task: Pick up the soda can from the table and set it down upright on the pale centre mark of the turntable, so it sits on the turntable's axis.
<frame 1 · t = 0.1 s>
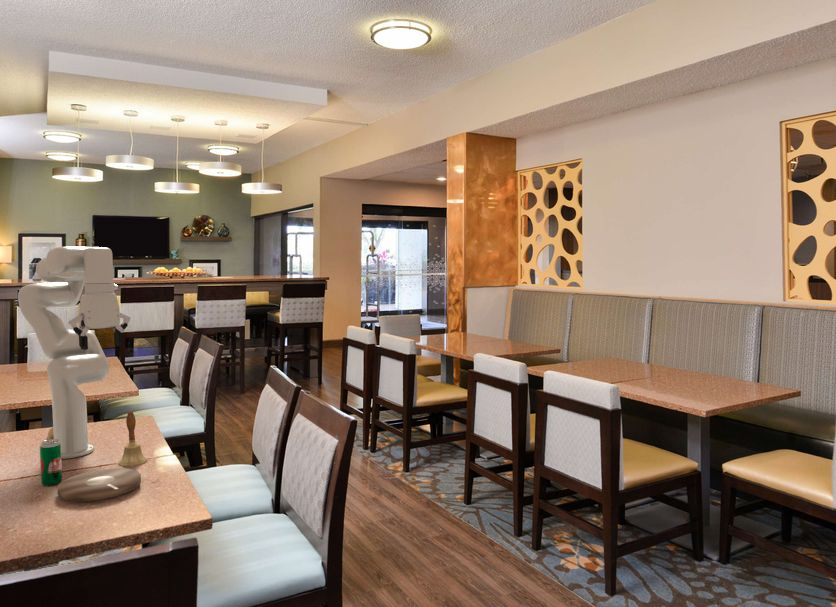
hand: (101, 347, 177), 37 cm above the table, tool pointing down, fingers open, 9 cm apart
stone cup: (67, 439, 210), on the table
soda can: (51, 484, 168), on the table
hand bell: (133, 462, 186), on the table
turntable: (100, 483, 163), point 2 cm above the table, hinge at 0.0°
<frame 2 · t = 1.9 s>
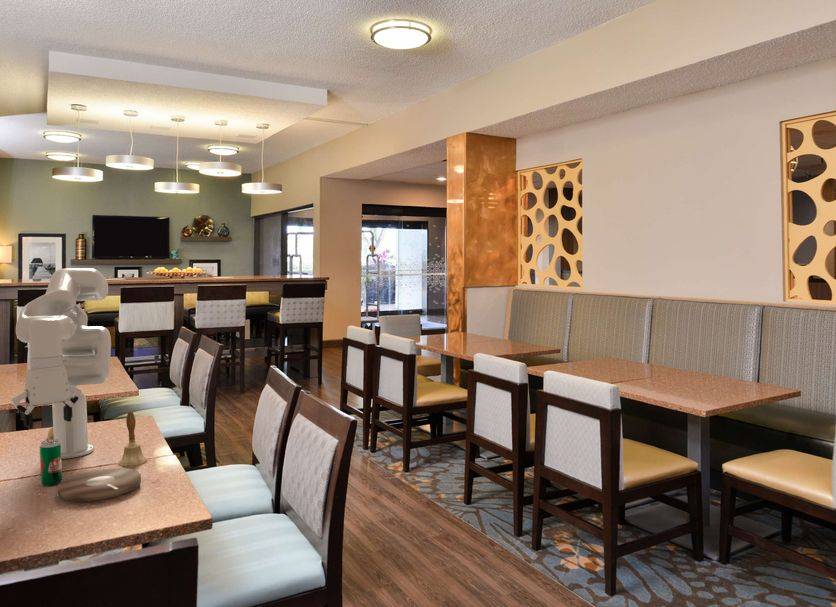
hand: (48, 424, 166), 17 cm above the table, tool pointing down, fingers open, 9 cm apart
nothing on the table moved.
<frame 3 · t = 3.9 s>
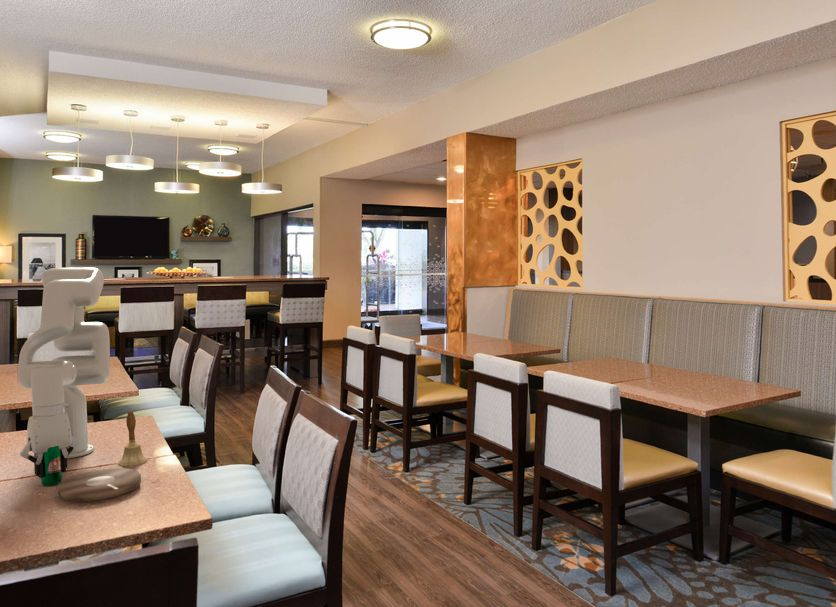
hand: (51, 473, 168), 3 cm above the table, tool pointing down, fingers closed on soda can, 5 cm apart
soda can: (51, 484, 168), on the table, touching gripper
everything else where it was.
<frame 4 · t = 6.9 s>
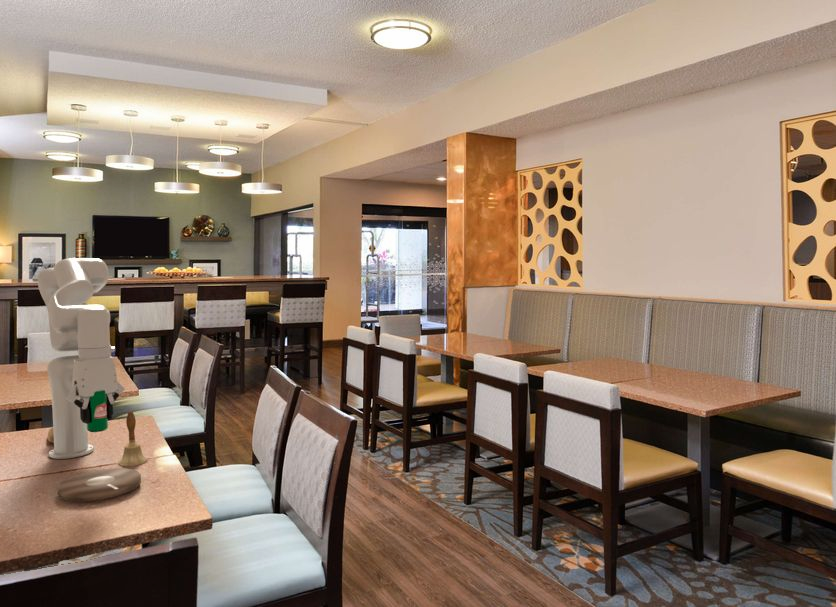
hand: (97, 419, 162), 19 cm above the table, tool pointing down, fingers closed on soda can, 5 cm apart
soda can: (97, 430, 162), point 16 cm above the table, touching gripper
everything else where it was.
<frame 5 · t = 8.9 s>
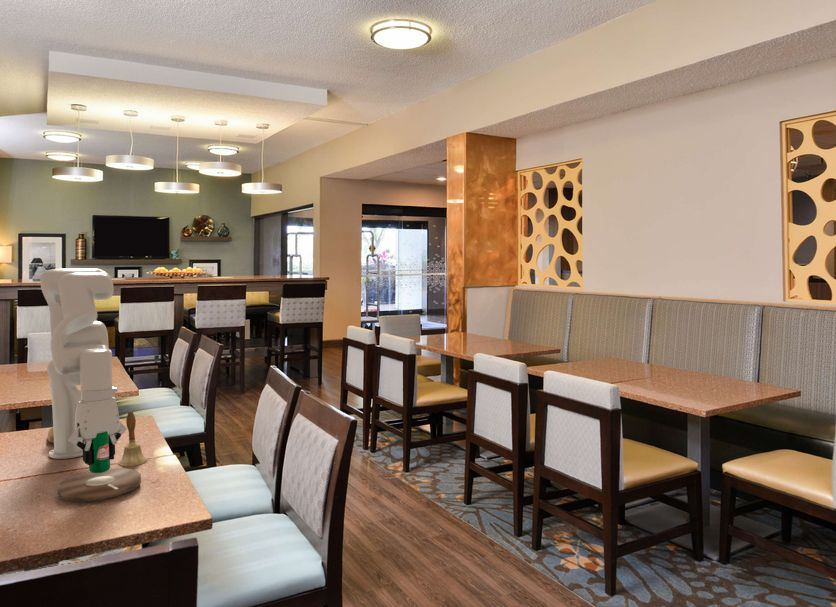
hand: (99, 460, 162), 8 cm above the table, tool pointing down, fingers closed on soda can, 5 cm apart
soda can: (100, 471, 163), point 5 cm above the table, touching gripper
everything else where it was.
when the fingers open (7 cm above the table, at t = 10.1 s): soda can drops 1 cm, resting on turntable.
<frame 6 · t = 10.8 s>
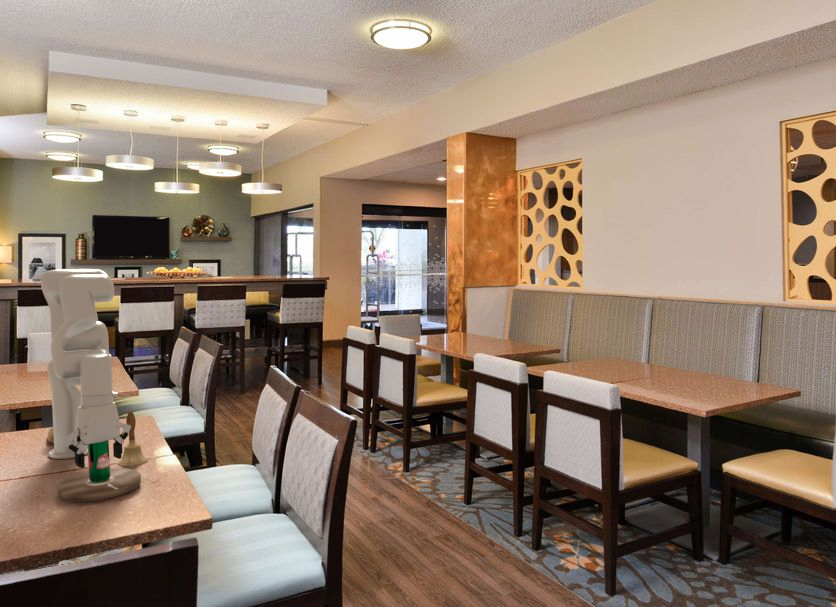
hand: (99, 462, 163), 8 cm above the table, tool pointing down, fingers open, 9 cm apart
soda can: (100, 480, 163), point 3 cm above the table, touching turntable
turntable: (100, 483, 163), point 2 cm above the table, hinge at 0.0°, touching soda can
everything else where it was.
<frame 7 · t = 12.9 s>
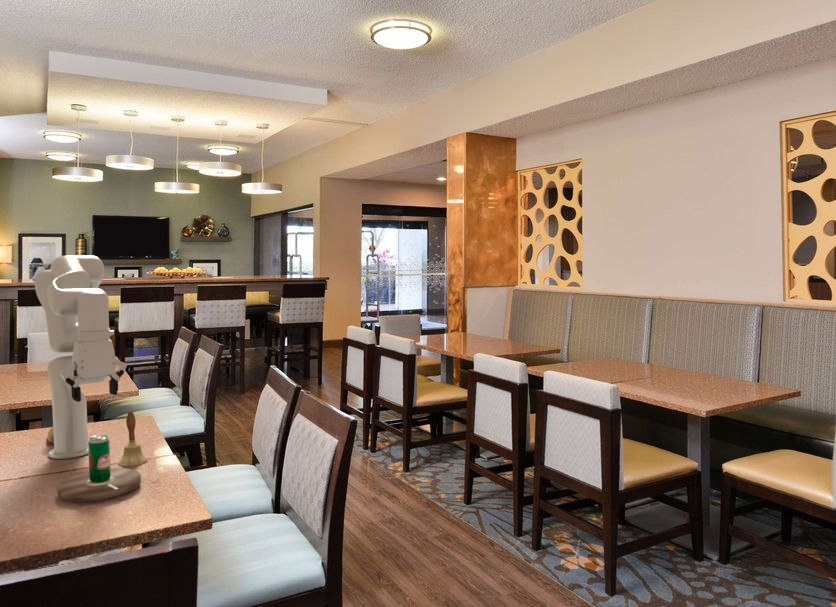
hand: (95, 397, 166), 24 cm above the table, tool pointing down, fingers open, 9 cm apart
nothing on the table moved.
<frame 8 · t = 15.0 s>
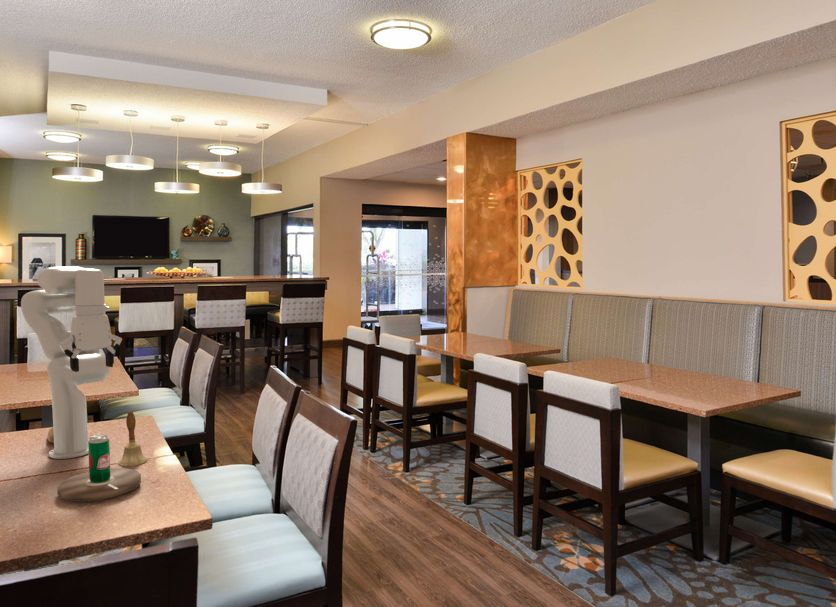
hand: (92, 368, 177), 30 cm above the table, tool pointing down, fingers open, 9 cm apart
nothing on the table moved.
at the end: soda can 0.2 cm from the turntable (horizontally); soda can tilted 0°; soda can touching turntable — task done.
